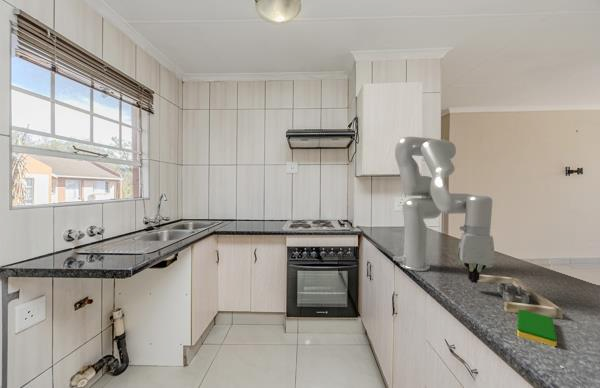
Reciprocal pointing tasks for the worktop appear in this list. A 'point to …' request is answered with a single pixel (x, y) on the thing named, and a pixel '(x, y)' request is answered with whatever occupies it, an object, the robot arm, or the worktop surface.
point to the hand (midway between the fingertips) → (473, 281)
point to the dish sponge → (536, 328)
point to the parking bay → (543, 304)
